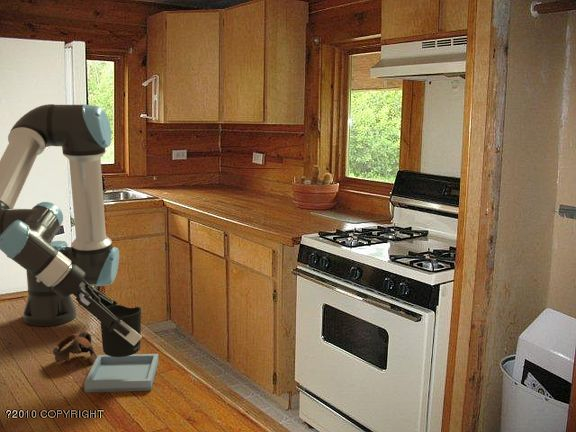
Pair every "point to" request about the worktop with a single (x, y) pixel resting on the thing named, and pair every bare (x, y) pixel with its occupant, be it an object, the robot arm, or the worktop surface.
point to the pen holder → (114, 341)
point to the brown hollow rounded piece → (75, 347)
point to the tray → (122, 373)
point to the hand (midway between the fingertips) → (134, 333)
